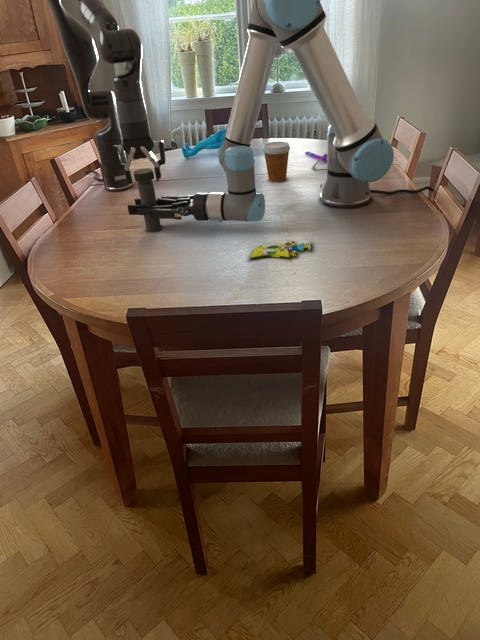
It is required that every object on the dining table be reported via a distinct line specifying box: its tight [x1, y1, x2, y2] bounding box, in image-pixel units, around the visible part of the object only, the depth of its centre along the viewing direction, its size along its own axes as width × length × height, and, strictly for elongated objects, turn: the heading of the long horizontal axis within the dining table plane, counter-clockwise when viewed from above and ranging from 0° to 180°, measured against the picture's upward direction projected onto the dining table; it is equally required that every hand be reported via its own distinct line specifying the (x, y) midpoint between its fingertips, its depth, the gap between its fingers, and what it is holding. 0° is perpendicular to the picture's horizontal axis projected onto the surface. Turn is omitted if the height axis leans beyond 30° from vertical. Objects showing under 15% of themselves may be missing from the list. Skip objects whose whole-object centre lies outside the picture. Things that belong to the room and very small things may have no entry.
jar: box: [137, 180, 162, 233], centre depth 137 cm, size 4×4×16 cm
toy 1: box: [180, 128, 227, 159], centre depth 204 cm, size 17×11×30 cm
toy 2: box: [249, 240, 312, 260], centre depth 122 cm, size 10×1×15 cm
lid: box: [133, 167, 155, 183], centre depth 133 cm, size 5×5×2 cm
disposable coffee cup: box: [262, 141, 291, 183], centre depth 169 cm, size 10×10×12 cm
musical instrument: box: [304, 151, 327, 171], centre depth 185 cm, size 24×2×20 cm
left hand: (144, 181), depth 134 cm, fingers open, 6 cm apart
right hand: (132, 206), depth 139 cm, fingers closed on jar, 4 cm apart
